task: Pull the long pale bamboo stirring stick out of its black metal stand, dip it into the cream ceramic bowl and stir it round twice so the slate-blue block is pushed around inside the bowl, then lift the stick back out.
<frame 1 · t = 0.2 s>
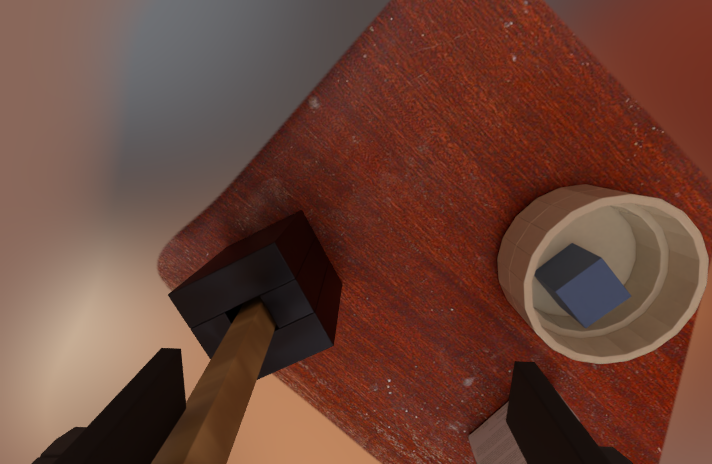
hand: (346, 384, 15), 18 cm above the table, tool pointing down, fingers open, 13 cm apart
block: (565, 274, 32), point 1 cm above the table, touching bowl
stick: (283, 263, 33), resting in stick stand
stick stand: (284, 266, 33), on the table
bowl: (569, 257, 32), on the table
ink box: (508, 409, 36), on the table
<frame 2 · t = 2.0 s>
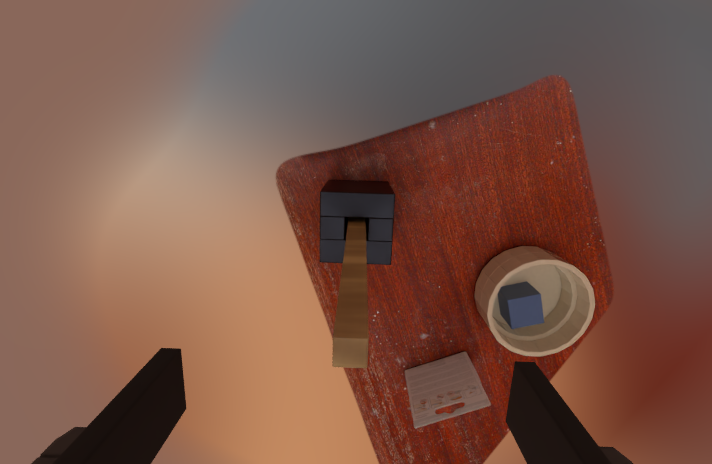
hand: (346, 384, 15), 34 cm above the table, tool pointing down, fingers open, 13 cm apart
block: (513, 298, 50), point 1 cm above the table, touching bowl
stick: (357, 207, 48), resting in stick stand
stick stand: (357, 209, 48), on the table
bowl: (520, 289, 50), on the table
ink box: (436, 364, 54), on the table
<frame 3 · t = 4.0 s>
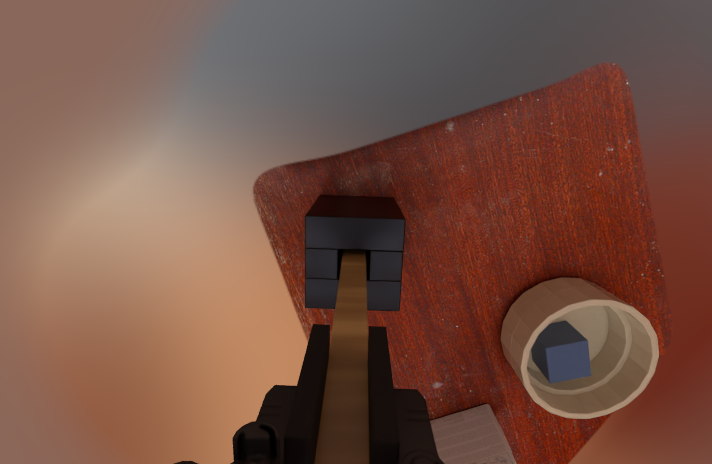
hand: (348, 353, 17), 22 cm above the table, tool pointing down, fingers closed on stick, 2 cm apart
block: (548, 340, 40), point 1 cm above the table, touching bowl
stick: (356, 229, 38), resting in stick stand, touching gripper
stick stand: (355, 232, 38), on the table
bowl: (557, 329, 41), on the table
ink box: (452, 418, 44), on the table
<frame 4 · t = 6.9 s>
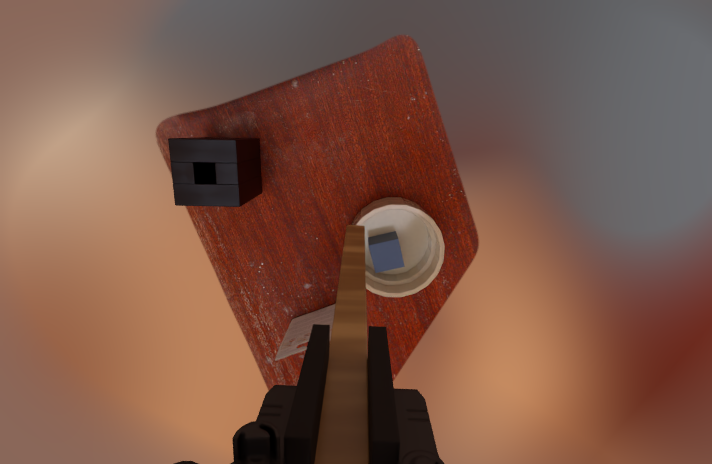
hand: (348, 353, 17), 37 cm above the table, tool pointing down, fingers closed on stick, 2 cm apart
block: (384, 247, 54), point 1 cm above the table, touching bowl
stick: (355, 233, 38), point 15 cm above the table, touching gripper
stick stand: (233, 165, 52), on the table
bowl: (391, 239, 54), on the table
ink box: (322, 313, 57), on the table
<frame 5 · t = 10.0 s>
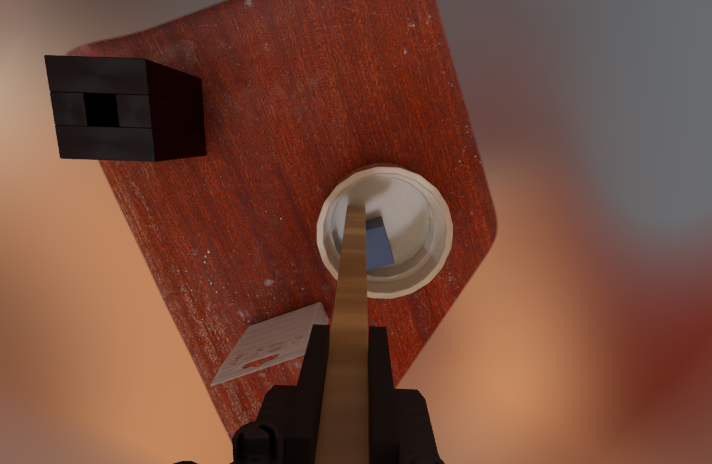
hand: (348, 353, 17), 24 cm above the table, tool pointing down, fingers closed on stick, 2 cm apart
block: (368, 238, 40), point 1 cm above the table, touching bowl, stick
stick: (356, 213, 38), point 2 cm above the table, tilted 7°, touching block, gripper
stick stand: (167, 116, 38), on the table
bowl: (381, 221, 40), on the table
ink box: (289, 319, 44), on the table
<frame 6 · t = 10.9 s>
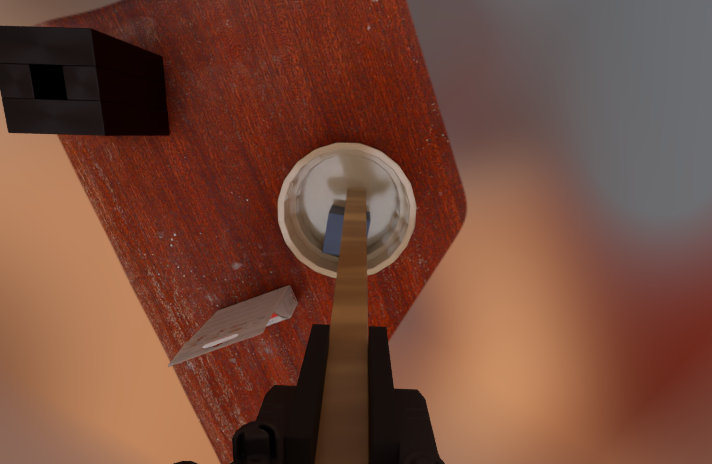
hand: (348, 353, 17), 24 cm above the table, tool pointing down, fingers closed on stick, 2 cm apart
block: (347, 226, 40), point 1 cm above the table, touching bowl
stick: (356, 196, 37), point 3 cm above the table, tilted 11°, touching gripper
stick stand: (129, 95, 37), on the table
bowl: (348, 202, 40), on the table
ink box: (258, 303, 43), on the table
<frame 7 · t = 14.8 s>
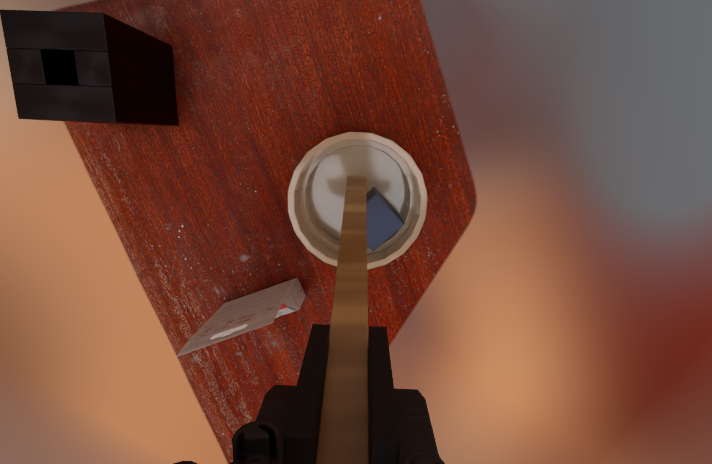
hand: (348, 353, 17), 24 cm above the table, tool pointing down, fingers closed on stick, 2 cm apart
block: (372, 213, 39), point 1 cm above the table, touching bowl, stick
stick: (356, 184, 36), point 3 cm above the table, tilted 15°, touching block, gripper
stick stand: (138, 85, 37), on the table
bowl: (357, 194, 40), on the table
ink box: (265, 296, 43), on the table
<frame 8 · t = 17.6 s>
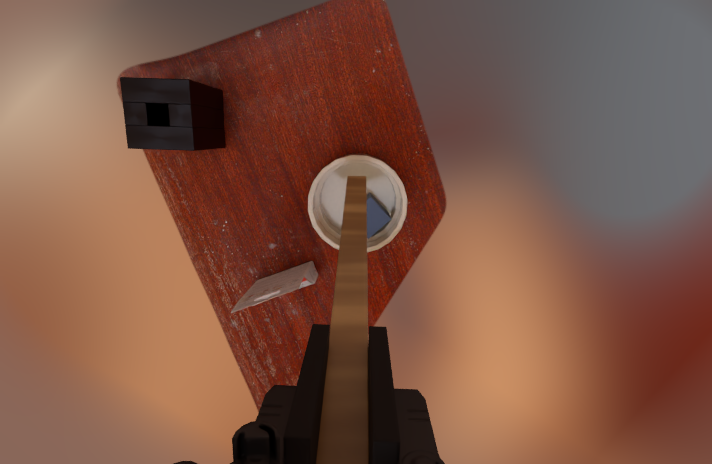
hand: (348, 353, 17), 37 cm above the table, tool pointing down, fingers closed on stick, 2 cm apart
block: (368, 212, 53), point 1 cm above the table, touching bowl
stick: (356, 184, 36), point 16 cm above the table, tilted 15°, touching gripper
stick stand: (196, 118, 51), on the table
bowl: (357, 198, 53), on the table
ink box: (288, 275, 56), on the table
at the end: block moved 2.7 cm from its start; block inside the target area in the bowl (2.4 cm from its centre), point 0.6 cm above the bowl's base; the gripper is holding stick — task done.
